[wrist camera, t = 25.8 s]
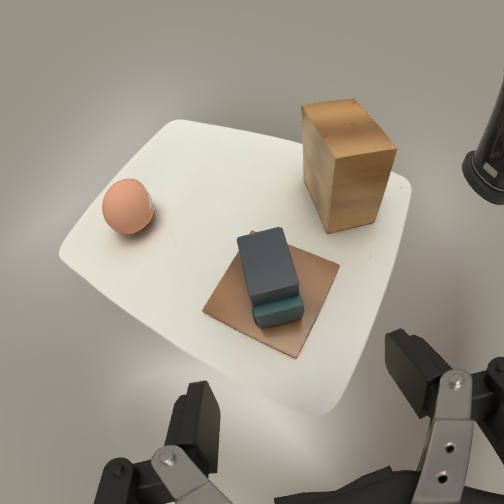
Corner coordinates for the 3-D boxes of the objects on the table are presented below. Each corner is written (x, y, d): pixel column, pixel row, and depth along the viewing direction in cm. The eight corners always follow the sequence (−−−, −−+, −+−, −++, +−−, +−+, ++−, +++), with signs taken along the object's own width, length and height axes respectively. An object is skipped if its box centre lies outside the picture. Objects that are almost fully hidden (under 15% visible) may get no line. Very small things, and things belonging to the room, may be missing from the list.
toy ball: (171, 207, 42) (151, 171, 35) (146, 249, 39) (119, 217, 32) (134, 199, 44) (112, 166, 37) (110, 237, 41) (83, 207, 34)
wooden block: (303, 179, 41) (301, 104, 29) (346, 170, 40) (354, 98, 29) (326, 234, 36) (335, 158, 24) (374, 222, 35) (397, 148, 24)
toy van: (305, 319, 30) (308, 293, 23) (257, 331, 30) (245, 309, 23) (285, 249, 35) (281, 209, 28) (242, 260, 35) (227, 223, 28)
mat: (252, 232, 37) (251, 230, 37) (339, 266, 33) (339, 264, 33) (203, 312, 33) (201, 310, 32) (296, 358, 29) (296, 358, 28)
